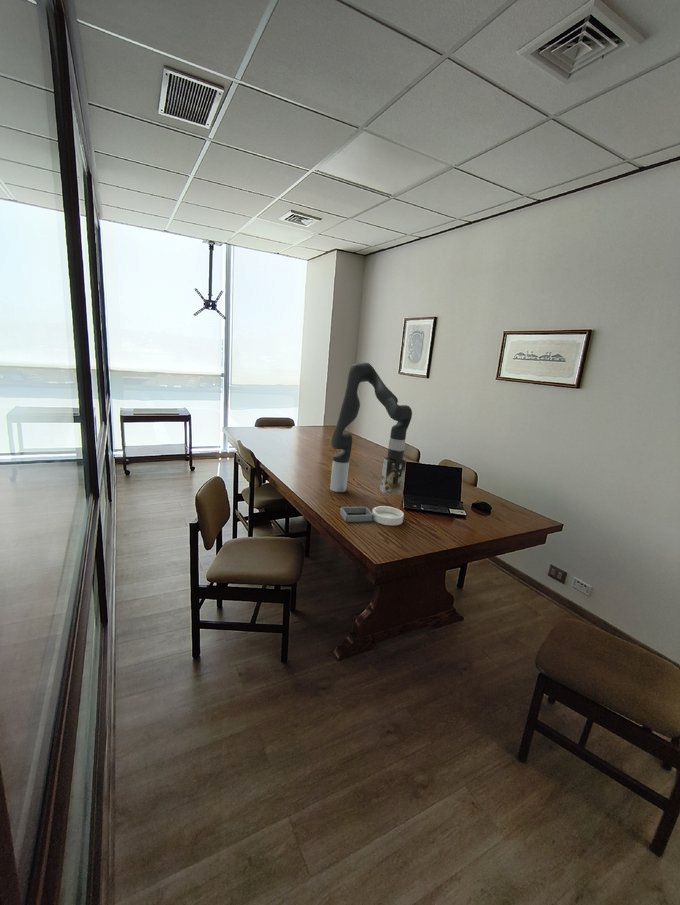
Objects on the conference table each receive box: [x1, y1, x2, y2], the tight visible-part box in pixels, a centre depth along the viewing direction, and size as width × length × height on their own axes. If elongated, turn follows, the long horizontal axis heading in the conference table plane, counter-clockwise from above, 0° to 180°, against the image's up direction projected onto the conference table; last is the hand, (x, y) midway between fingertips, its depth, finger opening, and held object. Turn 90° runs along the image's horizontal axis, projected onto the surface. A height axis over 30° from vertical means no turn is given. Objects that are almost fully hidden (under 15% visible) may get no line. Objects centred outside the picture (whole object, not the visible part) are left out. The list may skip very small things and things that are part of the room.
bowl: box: [371, 505, 405, 526], centre depth 194 cm, size 15×15×4 cm
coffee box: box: [379, 456, 407, 495], centre depth 189 cm, size 9×6×16 cm
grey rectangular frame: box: [339, 506, 374, 523], centre depth 193 cm, size 11×14×3 cm
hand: (391, 481), depth 190 cm, fingers closed on coffee box, 6 cm apart
